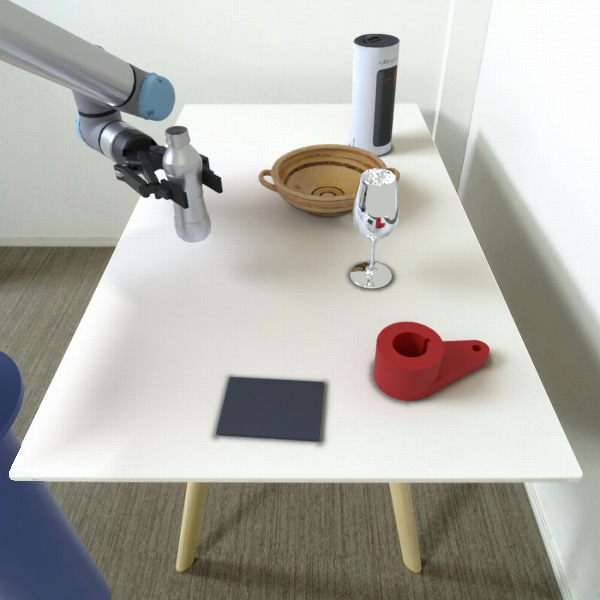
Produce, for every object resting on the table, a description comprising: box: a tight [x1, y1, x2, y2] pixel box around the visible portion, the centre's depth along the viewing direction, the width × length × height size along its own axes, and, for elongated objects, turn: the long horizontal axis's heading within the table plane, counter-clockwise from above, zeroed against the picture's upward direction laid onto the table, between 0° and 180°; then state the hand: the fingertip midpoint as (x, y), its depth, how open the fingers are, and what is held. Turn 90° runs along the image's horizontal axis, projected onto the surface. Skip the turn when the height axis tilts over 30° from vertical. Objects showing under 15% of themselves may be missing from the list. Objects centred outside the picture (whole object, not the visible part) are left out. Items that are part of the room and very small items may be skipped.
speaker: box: [349, 33, 401, 157], centre depth 130 cm, size 11×10×26 cm
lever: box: [373, 321, 491, 402], centre depth 80 cm, size 18×9×7 cm, turn 106°
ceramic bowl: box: [258, 143, 401, 217], centre depth 117 cm, size 30×24×8 cm
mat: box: [215, 376, 325, 442], centre depth 78 cm, size 14×10×1 cm
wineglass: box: [349, 168, 400, 290], centre depth 93 cm, size 8×8×20 cm
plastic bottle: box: [162, 125, 212, 244], centre depth 92 cm, size 6×7×20 cm
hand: (203, 193), depth 89 cm, fingers closed on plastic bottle, 6 cm apart
